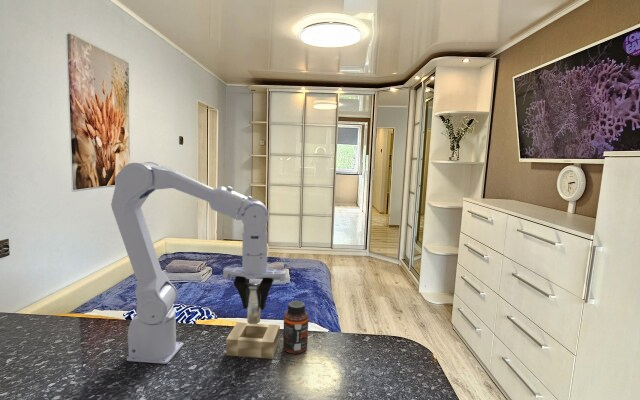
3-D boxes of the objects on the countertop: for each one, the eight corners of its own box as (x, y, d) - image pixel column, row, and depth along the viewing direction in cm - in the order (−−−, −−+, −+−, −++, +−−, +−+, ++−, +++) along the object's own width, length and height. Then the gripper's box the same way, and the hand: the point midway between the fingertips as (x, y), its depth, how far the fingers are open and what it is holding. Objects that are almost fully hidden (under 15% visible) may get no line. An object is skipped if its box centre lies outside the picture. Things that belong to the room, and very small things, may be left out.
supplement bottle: (304, 356, 78) (305, 310, 77) (279, 353, 79) (280, 307, 78) (309, 343, 84) (311, 300, 82) (287, 339, 85) (288, 297, 83)
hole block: (226, 355, 77) (226, 339, 77) (237, 337, 85) (237, 322, 85) (272, 358, 77) (273, 342, 76) (279, 340, 85) (279, 325, 84)
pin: (243, 324, 78) (244, 286, 77) (248, 317, 82) (249, 281, 81) (259, 325, 77) (260, 287, 77) (263, 318, 81) (264, 282, 81)
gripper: (218, 255, 75) (218, 313, 76) (282, 259, 74) (281, 317, 75) (229, 247, 82) (229, 300, 83) (287, 250, 81) (286, 303, 82)
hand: (254, 307), depth 80 cm, fingers closed on pin, 3 cm apart
